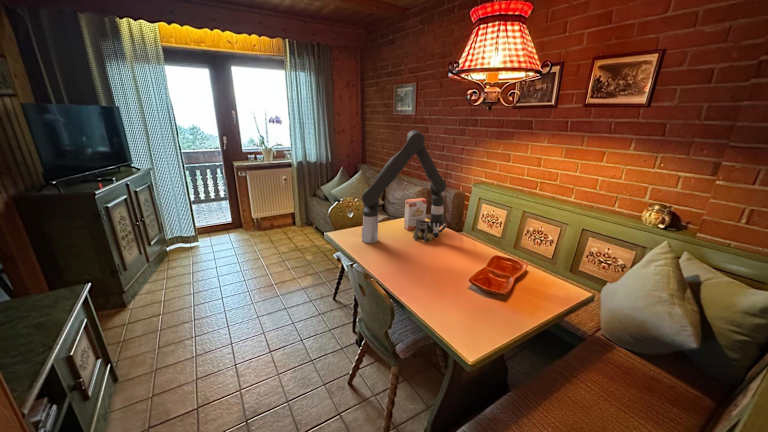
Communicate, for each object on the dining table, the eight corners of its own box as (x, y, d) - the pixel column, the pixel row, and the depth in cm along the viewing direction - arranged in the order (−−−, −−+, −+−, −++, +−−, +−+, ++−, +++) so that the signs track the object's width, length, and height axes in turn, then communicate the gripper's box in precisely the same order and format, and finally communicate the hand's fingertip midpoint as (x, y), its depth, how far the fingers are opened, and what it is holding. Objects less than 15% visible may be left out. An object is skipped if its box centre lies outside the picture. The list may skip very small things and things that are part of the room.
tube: (413, 238, 192) (413, 231, 190) (415, 235, 196) (415, 229, 194) (431, 241, 187) (431, 234, 186) (433, 238, 191) (433, 232, 190)
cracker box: (407, 231, 203) (409, 201, 196) (403, 228, 208) (404, 199, 201) (425, 228, 209) (427, 199, 202) (420, 225, 214) (422, 197, 207)
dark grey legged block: (411, 239, 189) (412, 225, 185) (416, 233, 199) (416, 219, 196) (429, 242, 185) (431, 227, 182) (433, 236, 195) (434, 221, 192)
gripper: (425, 212, 181) (424, 239, 186) (447, 214, 176) (445, 241, 182) (427, 209, 187) (427, 234, 193) (449, 211, 183) (447, 237, 189)
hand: (436, 237), depth 188 cm, fingers closed
